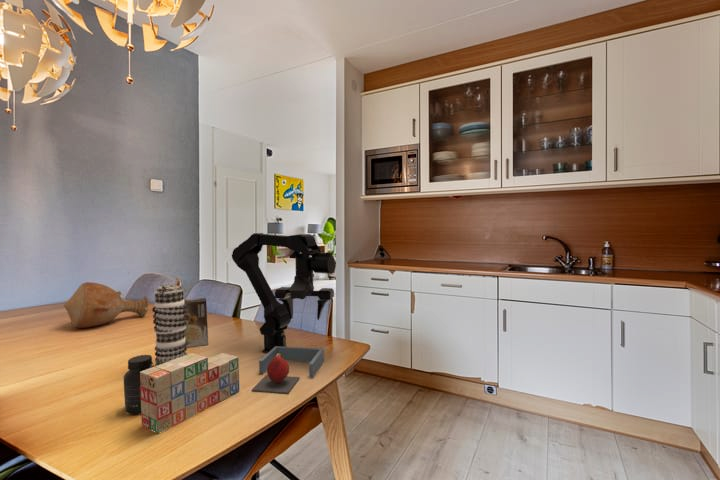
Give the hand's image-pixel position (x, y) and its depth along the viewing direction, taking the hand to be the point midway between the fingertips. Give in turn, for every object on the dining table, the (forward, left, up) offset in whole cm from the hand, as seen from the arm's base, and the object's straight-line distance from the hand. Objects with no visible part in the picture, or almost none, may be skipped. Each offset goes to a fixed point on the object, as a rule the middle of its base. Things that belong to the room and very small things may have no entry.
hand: (304, 319), depth 115 cm
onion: (-1, -22, -12) cm, 25 cm away
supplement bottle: (-28, -38, -12) cm, 49 cm away
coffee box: (-43, +4, -12) cm, 45 cm away
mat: (-1, -22, -12) cm, 25 cm away
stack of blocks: (-16, -36, -12) cm, 41 cm away
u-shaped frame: (-1, -11, -12) cm, 16 cm away
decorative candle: (-37, -16, -12) cm, 42 cm away
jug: (-97, +23, -12) cm, 100 cm away
